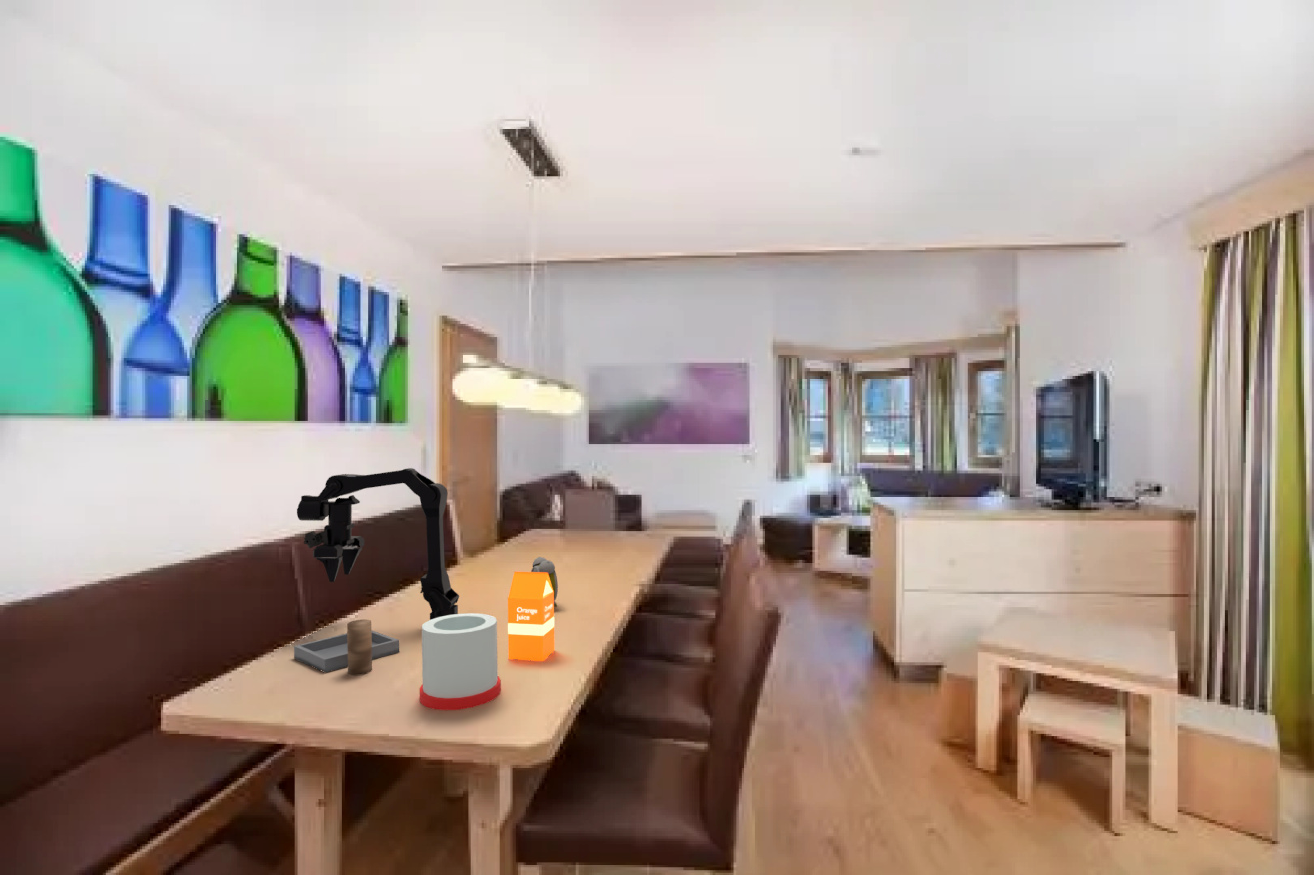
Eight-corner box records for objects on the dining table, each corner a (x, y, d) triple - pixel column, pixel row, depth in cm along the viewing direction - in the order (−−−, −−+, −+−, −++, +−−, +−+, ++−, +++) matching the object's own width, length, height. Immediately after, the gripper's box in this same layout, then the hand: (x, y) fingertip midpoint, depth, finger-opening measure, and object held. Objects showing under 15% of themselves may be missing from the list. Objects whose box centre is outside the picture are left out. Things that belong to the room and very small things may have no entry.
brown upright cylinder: (375, 667, 155) (375, 619, 155) (366, 675, 150) (365, 625, 150) (354, 667, 155) (353, 619, 155) (343, 675, 150) (343, 625, 150)
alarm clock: (529, 604, 210) (529, 556, 210) (550, 602, 213) (550, 554, 213) (541, 613, 200) (541, 562, 199) (563, 610, 203) (562, 560, 203)
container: (470, 674, 150) (469, 608, 150) (516, 691, 140) (515, 620, 139) (403, 696, 137) (402, 625, 137) (449, 717, 127) (448, 639, 127)
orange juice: (543, 661, 158) (542, 576, 157) (508, 659, 159) (506, 574, 159) (555, 650, 165) (553, 569, 165) (521, 648, 167) (520, 568, 167)
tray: (366, 640, 176) (366, 628, 176) (399, 652, 166) (399, 639, 165) (294, 658, 162) (294, 645, 162) (324, 672, 152) (324, 659, 152)
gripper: (325, 516, 192) (325, 571, 192) (292, 525, 174) (292, 585, 174) (365, 516, 193) (364, 571, 193) (336, 525, 174) (336, 586, 174)
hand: (339, 578), depth 183 cm, fingers open, 9 cm apart
